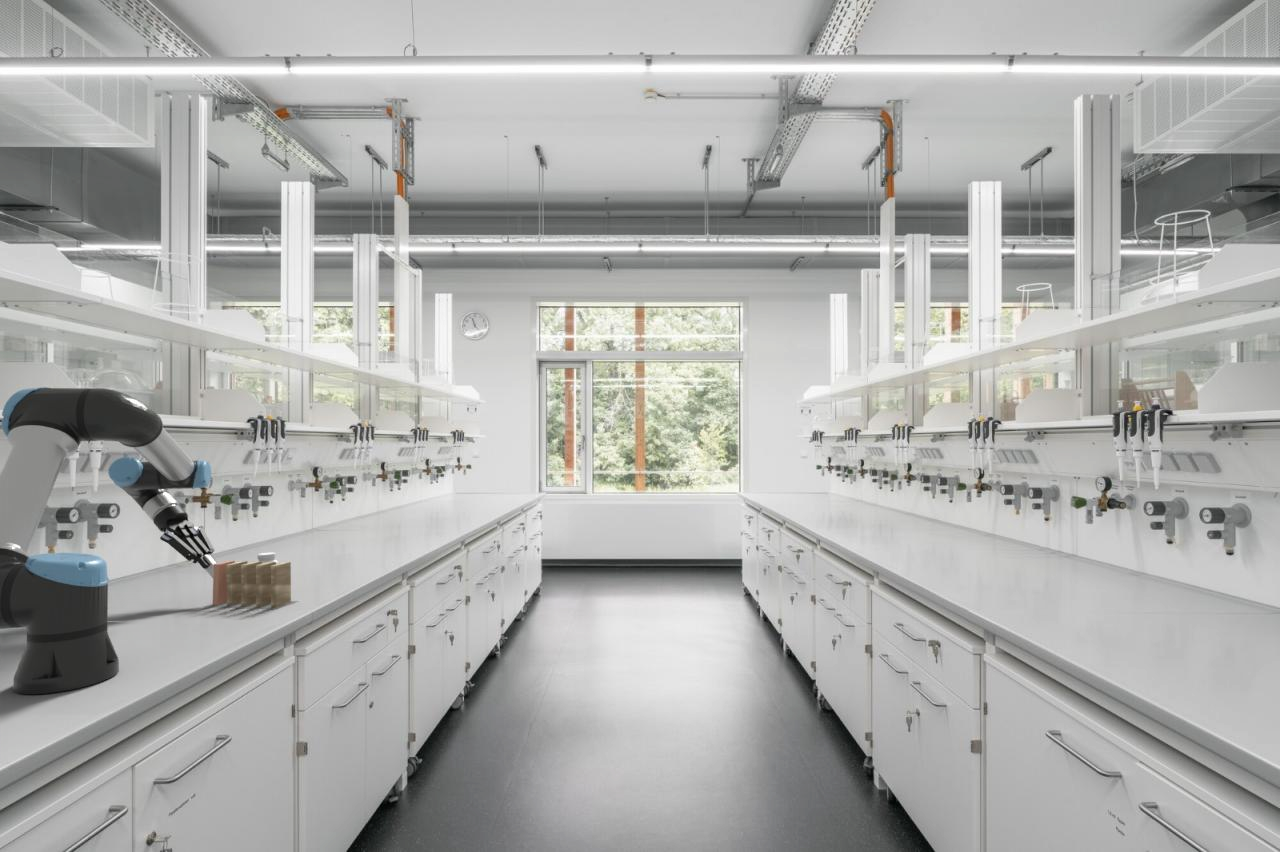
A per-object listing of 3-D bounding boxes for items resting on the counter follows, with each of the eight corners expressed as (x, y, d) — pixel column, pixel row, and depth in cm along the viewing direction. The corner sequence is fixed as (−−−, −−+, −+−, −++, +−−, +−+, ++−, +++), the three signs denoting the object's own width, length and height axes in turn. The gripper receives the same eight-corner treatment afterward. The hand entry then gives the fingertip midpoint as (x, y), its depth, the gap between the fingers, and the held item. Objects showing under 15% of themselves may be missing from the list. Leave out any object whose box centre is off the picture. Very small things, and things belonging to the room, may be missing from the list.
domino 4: (256, 606, 183) (256, 565, 183) (271, 602, 188) (270, 561, 188) (261, 607, 182) (261, 565, 182) (276, 602, 188) (276, 561, 188)
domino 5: (271, 607, 182) (270, 565, 182) (285, 602, 187) (285, 562, 187) (276, 607, 181) (276, 565, 182) (290, 602, 187) (290, 562, 187)
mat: (203, 607, 184) (203, 606, 184) (229, 599, 193) (229, 598, 193) (275, 610, 179) (275, 609, 179) (299, 602, 188) (298, 601, 188)
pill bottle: (280, 587, 208) (280, 551, 208) (276, 592, 202) (276, 554, 202) (257, 589, 206) (257, 552, 206) (252, 594, 200) (252, 555, 200)
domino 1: (212, 605, 185) (213, 564, 185) (228, 600, 191) (229, 560, 191) (217, 605, 185) (218, 564, 185) (233, 600, 190) (234, 560, 190)
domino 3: (241, 606, 183) (241, 565, 184) (256, 601, 189) (256, 561, 189) (246, 606, 183) (246, 565, 183) (261, 601, 189) (261, 561, 189)
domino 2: (226, 605, 184) (226, 564, 184) (242, 601, 190) (242, 561, 190) (232, 606, 184) (232, 564, 184) (247, 601, 189) (247, 561, 190)
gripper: (178, 520, 199) (228, 579, 195) (137, 525, 186) (190, 589, 182) (193, 501, 198) (244, 561, 194) (153, 506, 185) (207, 569, 181)
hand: (218, 574), depth 188 cm, fingers closed
